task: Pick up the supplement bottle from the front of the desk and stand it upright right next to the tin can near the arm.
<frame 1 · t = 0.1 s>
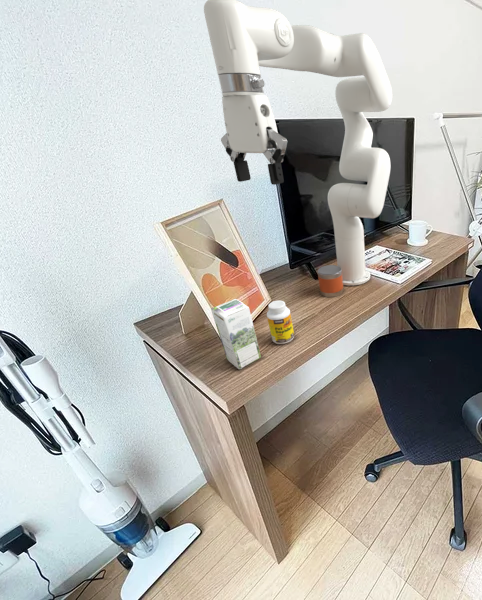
hand: (260, 182, 70), 37 cm above the table, tool pointing down, fingers open, 9 cm apart
syrup box: (245, 360, 76), on the table
tin can: (332, 291, 105), on the table
supplement bottle: (283, 339, 83), on the table
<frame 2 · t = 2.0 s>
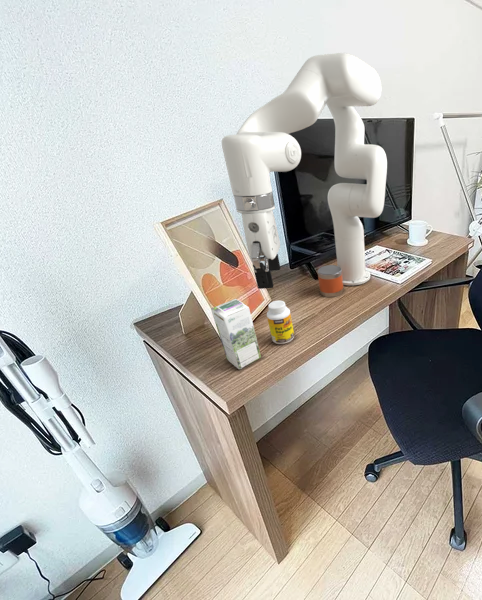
hand: (270, 278, 75), 17 cm above the table, tool pointing down, fingers open, 9 cm apart
nothing on the table moved.
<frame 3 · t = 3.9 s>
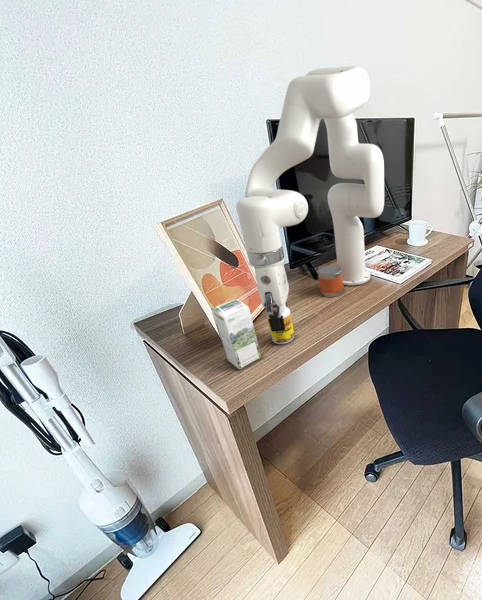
hand: (280, 322, 81), 5 cm above the table, tool pointing down, fingers closed on supplement bottle, 5 cm apart
supplement bottle: (283, 339, 83), on the table, touching gripper
everything else where it was.
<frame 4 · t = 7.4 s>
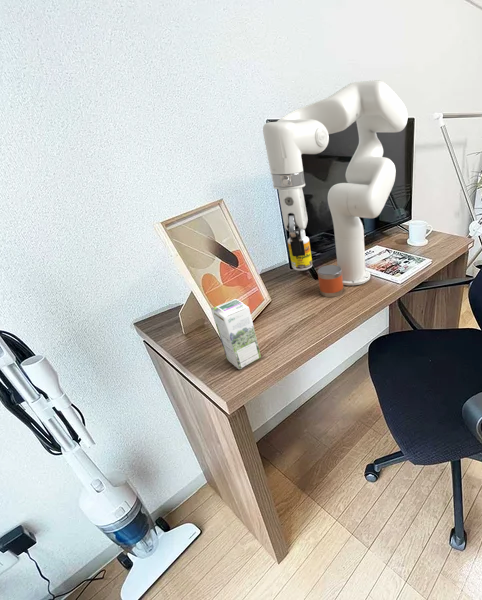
hand: (300, 250, 87), 18 cm above the table, tool pointing down, fingers closed on supplement bottle, 5 cm apart
supplement bottle: (302, 267, 90), point 13 cm above the table, touching gripper
everything else where it was.
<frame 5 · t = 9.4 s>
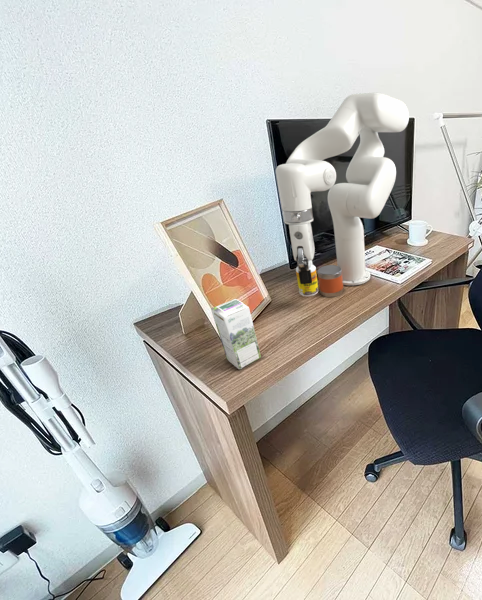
hand: (307, 277, 93), 9 cm above the table, tool pointing down, fingers closed on supplement bottle, 5 cm apart
supplement bottle: (309, 293, 95), point 4 cm above the table, touching gripper
everything else where it was.
when the fingers open (5 cm above the table, at t = 11.0 s): supplement bottle stays where it is, on the table.
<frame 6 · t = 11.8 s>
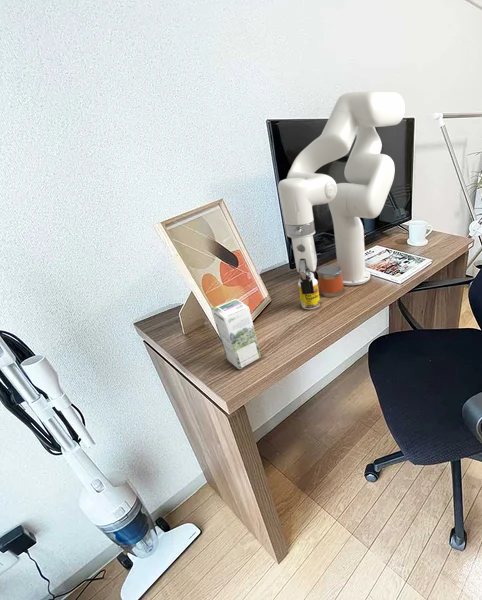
hand: (309, 285, 95), 7 cm above the table, tool pointing down, fingers open, 9 cm apart
supplement bottle: (311, 306, 98), on the table
everything else where it was.
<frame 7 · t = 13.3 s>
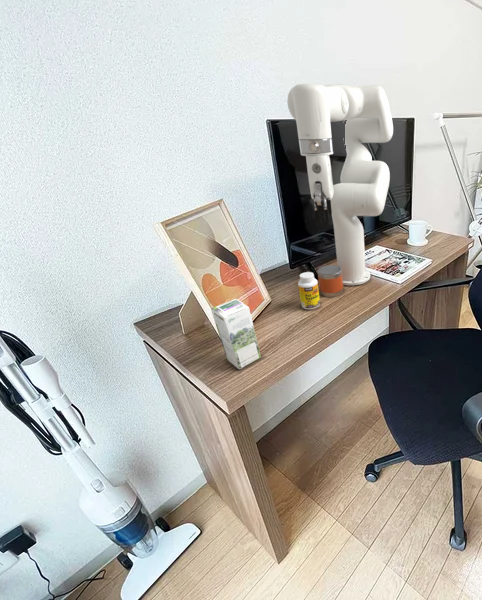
hand: (324, 220, 84), 26 cm above the table, tool pointing down, fingers open, 9 cm apart
nothing on the table moved.
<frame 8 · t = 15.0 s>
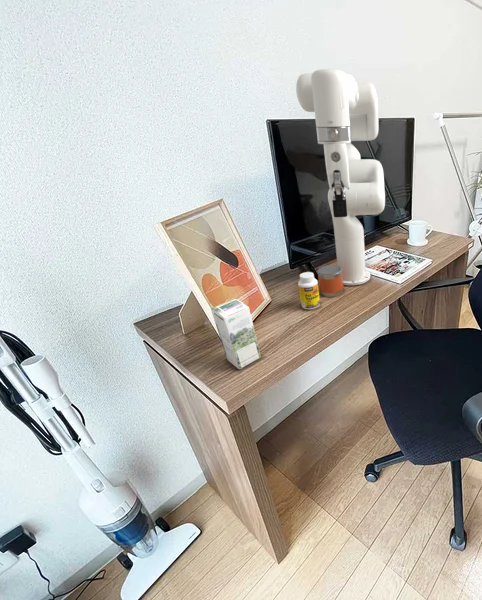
hand: (340, 211, 82), 28 cm above the table, tool pointing down, fingers open, 9 cm apart
nothing on the table moved.
at the end: supplement bottle 10.2 cm from the tin can (horizontally); supplement bottle tilted 0°; supplement bottle moved 16.9 cm from its start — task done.
